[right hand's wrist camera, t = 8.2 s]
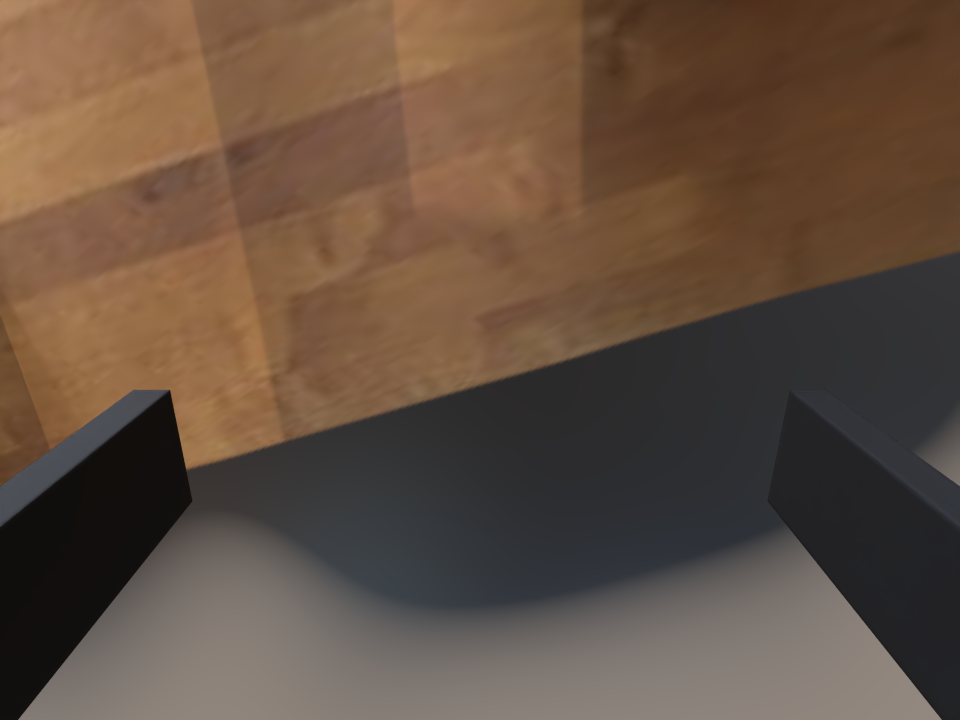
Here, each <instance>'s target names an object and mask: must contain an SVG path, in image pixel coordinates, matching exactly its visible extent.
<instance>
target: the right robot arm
mask: <svg viewBox="0 0 960 720" xmlns="http://www.w3.org/2000/svg"><path fill="white" fill-rule="evenodd" d="M191 502H192V497H191V492H190V487H189V482H188V477H187V472H186V467H185V462H184V457H183V452H182V447H181V442H180V437H179V432H178V427H177V422H176V418H175V413H174V408H173V403H172V398H171V393H170V390H133V391H132V392H130V393H129V394H128V395H126V396H125V397H123V398H122V399H121V400H119V401H118V402H117V403H115V404H114V405H112V406H111V407H110V408H108V409H107V410H105V411H104V412H103V413H101V414H100V415H99V416H97V417H96V418H94V419H93V420H92V421H90V422H89V423H87V424H86V425H85V426H83V427H82V428H81V429H79V430H78V431H76V432H75V433H74V434H72V435H71V436H69V437H68V438H67V439H65V440H64V441H63V442H61V443H60V444H58V445H57V446H56V447H54V448H53V449H51V450H50V451H49V452H47V453H46V454H45V455H43V456H42V457H40V458H39V459H38V460H36V461H35V462H33V463H32V464H31V465H29V466H28V467H26V468H25V469H24V470H22V471H21V472H20V473H18V474H17V475H15V476H14V477H13V478H11V479H10V480H8V481H7V482H6V483H4V484H3V485H2V486H0V720H18V719H19V718H20V717H21V715H22V714H23V713H24V712H25V710H26V709H27V708H28V707H29V705H30V704H31V703H32V702H33V700H34V699H35V698H36V696H37V695H38V694H39V693H40V692H41V690H42V689H43V688H44V687H45V685H46V684H47V683H48V682H49V680H50V679H51V678H52V677H53V675H54V674H55V673H56V671H57V670H58V669H59V668H60V666H61V665H62V664H63V663H64V661H65V660H66V659H67V658H68V656H69V655H70V654H71V653H72V651H73V650H74V649H75V648H76V646H77V645H78V644H79V643H80V641H81V640H82V639H83V638H84V636H85V635H86V634H87V633H88V631H89V630H90V629H91V628H92V626H93V625H94V624H95V623H96V621H97V620H98V619H99V618H100V616H101V615H102V614H103V613H104V611H105V610H106V609H107V608H108V606H109V605H110V604H111V602H112V601H113V600H114V599H115V597H116V596H117V595H118V594H119V592H120V591H121V590H122V589H123V587H124V586H125V585H126V584H127V582H128V581H129V580H130V579H131V577H132V576H133V575H134V574H135V572H136V571H137V570H138V569H139V567H140V566H141V565H142V564H143V562H144V561H145V560H146V559H147V557H148V556H149V555H150V553H151V552H152V551H153V550H154V549H155V547H156V546H157V545H158V544H159V542H160V541H161V540H162V539H163V537H164V536H165V535H166V534H167V532H168V531H169V530H170V528H171V527H172V526H173V525H174V523H175V522H176V521H177V520H178V518H179V517H180V516H181V515H182V513H183V512H184V511H185V510H186V508H187V507H188V506H189V505H190V503H191ZM768 502H769V503H770V505H771V506H772V507H773V508H774V510H775V511H776V512H777V513H778V515H779V516H780V517H781V518H782V520H783V521H784V522H785V523H786V525H787V526H788V527H789V528H790V530H791V531H792V532H793V533H794V535H795V536H796V537H797V539H798V540H799V541H800V542H801V544H802V545H803V546H804V547H805V549H806V550H807V551H808V552H809V554H810V555H811V556H812V557H813V559H814V560H815V561H816V562H817V564H818V565H819V566H820V567H821V569H822V570H823V571H824V572H825V574H826V575H827V576H828V577H829V579H830V580H831V581H832V582H833V584H834V585H835V586H836V587H837V589H838V590H839V591H840V592H841V594H842V595H843V596H844V597H845V599H846V600H847V601H848V602H849V604H850V605H851V606H852V608H853V609H854V610H855V611H856V613H857V614H858V615H859V616H860V618H861V619H862V620H863V621H864V623H865V624H866V625H867V626H868V628H869V629H870V630H871V631H872V633H873V634H874V635H875V636H876V638H877V639H878V640H879V641H880V643H881V644H882V645H883V646H884V648H885V649H886V650H887V651H888V653H889V654H890V655H891V656H892V658H893V659H894V660H895V661H896V663H897V664H898V665H899V666H900V668H901V669H902V670H903V671H904V673H905V674H906V675H907V677H908V678H909V679H910V680H911V682H912V683H913V684H914V685H915V687H916V688H917V689H918V690H919V692H920V693H921V694H922V695H923V697H924V698H925V699H926V700H927V701H928V703H929V704H930V705H931V707H932V708H933V709H934V710H935V712H936V713H937V714H938V715H939V717H940V718H941V719H942V720H960V486H958V485H957V484H956V483H954V482H953V481H951V480H950V479H949V478H947V477H946V476H945V475H943V474H942V473H940V472H939V471H938V470H936V469H935V468H934V467H932V466H931V465H929V464H928V463H927V462H925V461H924V460H922V459H921V458H920V457H918V456H917V455H915V454H914V453H913V452H911V451H910V450H908V449H907V448H906V447H904V446H903V445H902V444H900V443H899V442H897V441H896V440H895V439H893V438H892V437H891V436H889V435H888V434H886V433H885V432H884V431H882V430H881V429H879V428H878V427H877V426H875V425H874V424H873V423H871V422H870V421H868V420H867V419H866V418H864V417H863V416H861V415H860V414H859V413H857V412H856V411H855V410H853V409H852V408H850V407H849V406H848V405H846V404H845V403H843V402H842V401H841V400H839V399H838V398H837V397H835V396H834V395H832V394H831V393H830V392H828V391H827V390H790V393H789V398H788V403H787V408H786V413H785V418H784V423H783V427H782V432H781V437H780V442H779V447H778V452H777V457H776V462H775V467H774V472H773V477H772V482H771V487H770V492H769V497H768Z"/></svg>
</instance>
